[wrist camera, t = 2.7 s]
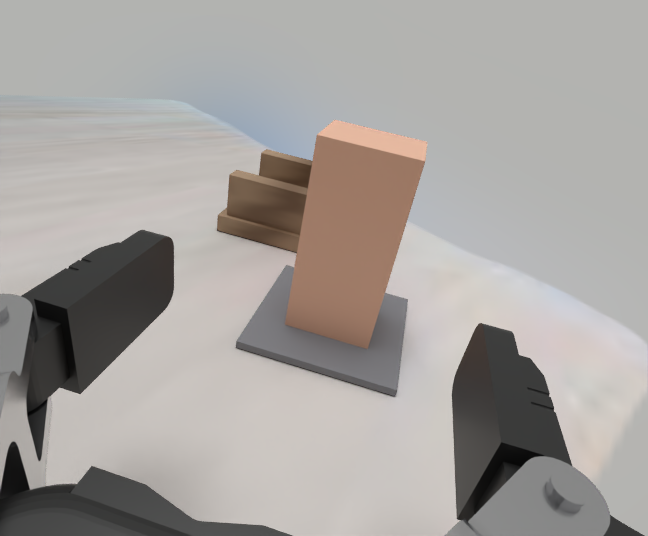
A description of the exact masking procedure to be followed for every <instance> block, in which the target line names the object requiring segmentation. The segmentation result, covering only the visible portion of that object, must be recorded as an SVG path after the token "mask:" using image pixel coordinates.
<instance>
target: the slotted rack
mask: <svg viewBox="0 0 648 536" xmlns="http://www.w3.org/2000/svg"><path fill="white" fill-rule="evenodd" d="M311 167H312V161H310V160H306V159H303V158H299V157H295V156H291V155H287V154H283V153H279V152H275V151H271V150H267V149H266V150H265V151H264V152H262V153H261V162H260V171H259V176H258V175H254V174H251V173H247V172H243V171H239V170H236V171H234V172H233V173H231V174H230V176H229V190H228V204H227V208H226V209H225V210H224V211H222V212H221V213H220V214H219V215H218V224H217V230H218V231H222V232H225V233H229V234H232V235H236V236H240V237H243V238H247V239H250V240H254V241H258V242H261V243H265V244H268V245H272V246H276V247H279V248H283V249H286V250H290V251H294V252H297V250H298V244H299V238H300V232H301V226H302V220H303V214H304V208H305V203H306V197H307V191H308V185H309V179H310V173H311Z"/></svg>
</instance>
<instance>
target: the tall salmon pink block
mask: <svg viewBox="0 0 648 536" xmlns="http://www.w3.org/2000/svg"><path fill="white" fill-rule="evenodd" d="M426 149H427V142H425V141H421V140H417V139H413V138H409V137H404V136H400V135H396V134H392V133H388V132H383V131H379V130H375V129H371V128H367V127H362V126H359V125H354V124H350V123H346V122H342V121H338V120H334V121H333V122H331V123H330V124H329V125H328V126H327V127H326V128H324V129H323V130H322V131H321V132H320V133H319V134H317V138H316V144H315V150H314V155H313V161H312V167H311V173H310V179H309V185H308V191H307V197H306V203H305V208H304V214H303V220H302V226H301V232H300V238H299V244H298V250H297V256H296V261H295V267H294V273H293V279H292V285H291V291H290V297H289V303H288V309H287V314H286V320H285V325H288V326H291V327H295V328H298V329H301V330H305V331H308V332H311V333H315V334H318V335H322V336H325V337H328V338H332V339H335V340H338V341H342V342H345V343H348V344H352V345H355V346H358V347H362V348H365V349H368V346H369V343H370V340H371V336H372V333H373V330H374V327H375V323H376V320H377V317H378V314H379V310H380V307H381V304H382V301H383V297H384V294H385V291H386V288H387V284H388V281H389V278H390V274H391V271H392V268H393V265H394V261H395V258H396V255H397V252H398V248H399V245H400V242H401V239H402V235H403V232H404V229H405V226H406V222H407V219H408V215H409V212H410V209H411V206H412V203H413V199H414V196H415V193H416V190H417V186H418V183H419V180H420V176H421V173H422V170H423V167H424V163H425V159H426Z"/></svg>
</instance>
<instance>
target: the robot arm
mask: <svg viewBox="0 0 648 536" xmlns="http://www.w3.org/2000/svg"><path fill="white" fill-rule="evenodd" d="M173 290H174V245H173V241H172V239H171V238H170V237H167V236H163V235H160V234H156V233H152V232H149V231H145V230H140V231H138V232H136V233H135V234H133V235H132V236H130V237H129V238H127V239H126V240H124V241H122V242H121V243H119V242H118V243H114V244H111V245H108V246H104V247H101V248H98V249H96V250H94V251H93V252H91V253H90V254H88V255H86V256H85V257H83V258H82V260H81V261H80V260H78V261H77V262H75V263H73V264H72V265H70V266H69V268H68V269H66V268H65V269H64V270H62V271H61V272H59V273H57V274H56V275H54V276H53V277H51V278H49V279H48V280H46V281H44V282H43V283H41V284H40V285H38V286H36V287H35V288H33V289H32V290H30V291H28V292H27V293H25V294H24V295H22V296H18V295H13V294H0V536H292V535H289V534H286V533H283V532H280V531H278V530H275V529H272V528H269V527H266V526H263V525H247V524H232V523H217V522H202V521H197V520H194V519H192V518H191V517H189V516H188V515H186V514H185V513H184V512H182V511H181V510H180V509H178V508H177V507H175V506H174V505H173V504H171V503H170V502H169V501H167V500H166V499H165V498H163V497H162V496H160V495H159V494H158V493H156V492H155V491H154V490H152V489H151V488H150V487H148V486H147V485H145V484H142V483H139V482H136V481H134V480H131V479H128V478H125V477H122V476H119V475H116V474H113V473H110V472H108V471H105V470H102V469H99V468H96V467H93V466H91V468H90V469H89V470H88V471H87V473H86V474H85V475H84V476H83V478H82V479H81V480H80V481H79V483H78V484H59V485H51V486H46V464H47V454H48V443H49V433H50V422H51V412H52V400H51V395H52V394H53V393H54V392H55V391H56V390H57V389H58V388H59V387H60V388H63V389H66V390H69V391H72V392H75V393H78V394H81V393H82V392H83V391H84V390H85V389H86V388H87V387H88V386H89V385H90V384H91V383H92V382H93V381H94V380H95V379H96V378H97V377H98V376H99V375H100V374H101V373H102V372H103V371H104V370H105V369H106V368H107V367H108V366H109V365H110V364H111V363H112V362H113V361H114V360H115V359H116V358H117V357H118V356H119V355H120V354H121V353H122V352H123V351H124V350H125V349H126V348H127V347H128V346H129V345H130V344H131V343H132V342H133V341H134V340H135V339H136V338H137V337H138V336H139V335H140V334H141V333H142V332H143V331H144V330H145V329H146V328H147V327H148V326H149V325H150V324H151V323H152V322H153V321H154V320H155V319H156V318H157V317H158V316H159V315H160V314H161V313H162V312H163V311H164V310H165V309H166V308H167V306H168V304H169V303H170V301H171V298H172V295H173ZM549 394H550V393H549V390H548V387H547V384H546V381H545V377H544V375H543V374H542V373H541V371H540V370H539V369H538V368H537V366H536V365H535V364H534V363H533V361H532V360H531V359H530V358H527V357H523V356H520V355H519V354H518V350H517V346H516V342H515V338H514V334H513V333H512V332H511V331H508V330H504V329H500V328H497V327H493V326H489V325H486V324H482V323H480V324H478V326H477V327H476V329H475V331H474V333H473V335H472V337H471V340H470V342H469V344H468V346H467V349H466V351H465V353H464V356H463V358H462V360H461V362H460V365H459V367H458V369H457V372H456V375H455V378H454V383H453V389H452V407H453V432H454V457H455V483H456V508H457V519H458V520H461V521H460V522H458V523H457V524H456V525H455V526H454V527H453V528H452V529H451V530H450V531H449V532H448V533H447V534H446V535H445V536H644V535H642V534H640V533H639V532H637V531H635V530H634V529H632V528H630V527H628V526H627V525H625V524H623V523H622V522H620V521H618V520H617V519H615V518H614V517H612V516H611V515H610V512H609V509H608V506H607V503H606V501H605V499H604V498H603V496H602V495H601V493H600V491H599V490H598V489H597V488H596V486H595V485H594V484H593V483H592V482H591V481H590V480H589V479H588V478H587V477H586V476H585V475H584V474H582V473H581V472H580V471H578V470H577V469H576V468H574V467H572V464H571V460H570V457H569V454H568V451H567V448H566V444H565V441H564V438H563V435H562V432H561V429H560V425H559V422H558V419H557V416H556V413H555V412H554V406H553V403H552V400H551V397H549Z"/></svg>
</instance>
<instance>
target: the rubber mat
mask: <svg viewBox="0 0 648 536" xmlns="http://www.w3.org/2000/svg"><path fill="white" fill-rule="evenodd" d="M293 273H294V267H291V266H287V265H286V266H285V268H284V269H283V271H282V273H281V274H280V276H279V277H278V279H277V280H276V282H275V283H274V285H273V286H272V288H271V289H270V291H269V292H268V294H267V295H266V297H265V299H264V300H263V302H262V303H261V305H260V306H259V308H258V309H257V311H256V312H255V314H254V315H253V317H252V318H251V320H250V321H249V323H248V324H247V326H246V328H245V329H244V331H243V332H242V334H241V335H240V337H239V338H238V340H237V342H236V348H240V349H243V350H246V351H249V352H253V353H256V354H259V355H262V356H266V357H269V358H272V359H275V360H279V361H282V362H285V363H288V364H292V365H295V366H298V367H301V368H305V369H308V370H311V371H314V372H318V373H321V374H324V375H327V376H331V377H334V378H337V379H340V380H344V381H347V382H350V383H353V384H357V385H360V386H363V387H366V388H370V389H373V390H376V391H379V392H383V393H386V394H389V395H392V396H395V395H396V392H397V387H398V378H399V370H400V361H401V353H402V345H403V336H404V328H405V319H406V311H407V302H408V299H404V298H401V297H397V296H394V295H390V294H387V293H385V294H384V297H383V301H382V304H381V307H380V310H379V314H378V317H377V320H376V323H375V327H374V330H373V333H372V336H371V340H370V343H369V346H368V349H365V348H362V347H358V346H355V345H352V344H348V343H345V342H342V341H338V340H335V339H332V338H328V337H325V336H322V335H318V334H315V333H311V332H308V331H305V330H301V329H298V328H295V327H291V326H288V325H285V320H286V314H287V309H288V303H289V297H290V291H291V285H292V279H293Z"/></svg>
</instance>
